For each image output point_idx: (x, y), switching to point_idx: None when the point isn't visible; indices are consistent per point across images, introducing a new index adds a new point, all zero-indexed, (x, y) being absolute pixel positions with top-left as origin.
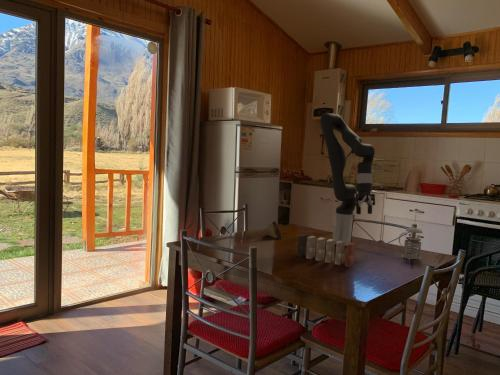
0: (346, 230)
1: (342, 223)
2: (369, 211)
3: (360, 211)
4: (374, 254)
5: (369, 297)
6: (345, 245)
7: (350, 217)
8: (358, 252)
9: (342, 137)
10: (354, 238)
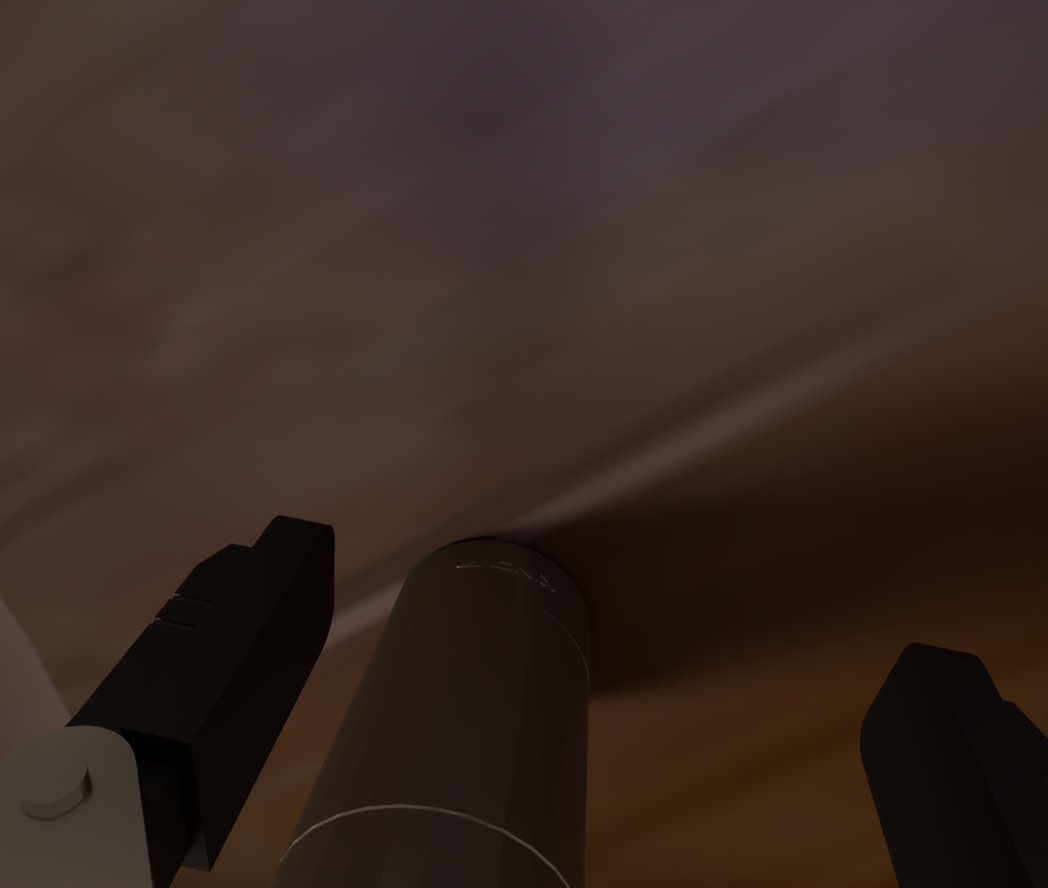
0: (525, 688)
1: (569, 823)
2: (299, 627)
3: (980, 718)
4: (577, 109)
5: None
6: (540, 556)
7: (430, 861)
8: (681, 301)
9: None
10: (104, 673)
